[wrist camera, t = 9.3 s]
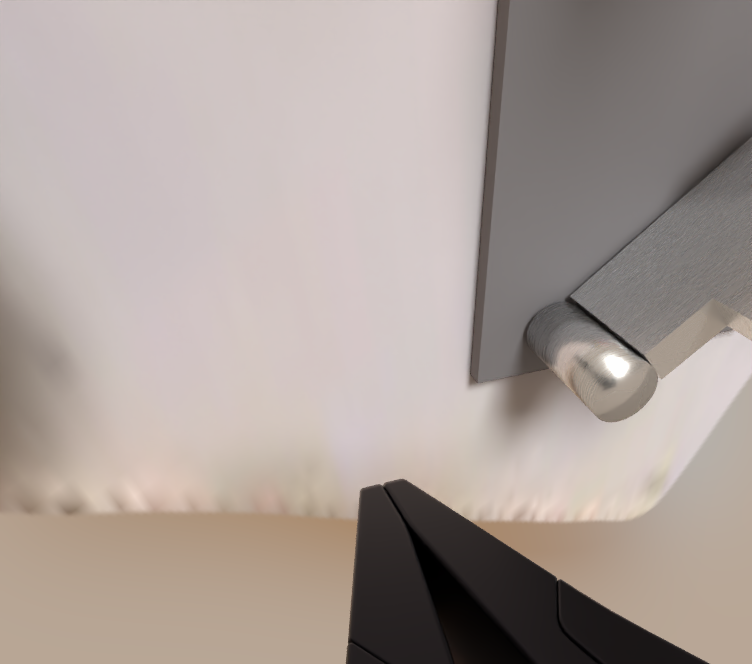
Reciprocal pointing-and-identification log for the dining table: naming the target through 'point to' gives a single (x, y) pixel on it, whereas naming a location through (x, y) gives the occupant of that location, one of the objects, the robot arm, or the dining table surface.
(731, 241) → the link
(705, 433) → the dining table surface
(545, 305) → the board
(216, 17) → the dining table surface
